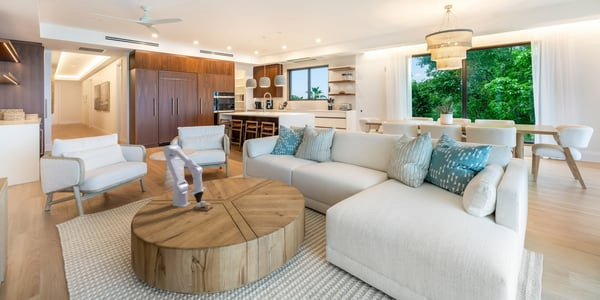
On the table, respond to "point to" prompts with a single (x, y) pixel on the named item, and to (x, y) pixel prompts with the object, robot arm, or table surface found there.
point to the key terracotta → (207, 205)
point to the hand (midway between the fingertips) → (198, 202)
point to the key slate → (202, 203)
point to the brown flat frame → (202, 208)
